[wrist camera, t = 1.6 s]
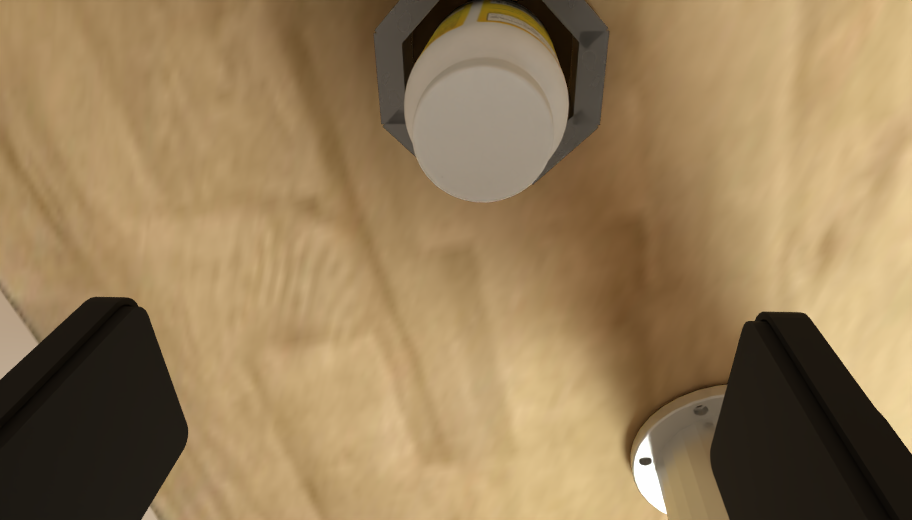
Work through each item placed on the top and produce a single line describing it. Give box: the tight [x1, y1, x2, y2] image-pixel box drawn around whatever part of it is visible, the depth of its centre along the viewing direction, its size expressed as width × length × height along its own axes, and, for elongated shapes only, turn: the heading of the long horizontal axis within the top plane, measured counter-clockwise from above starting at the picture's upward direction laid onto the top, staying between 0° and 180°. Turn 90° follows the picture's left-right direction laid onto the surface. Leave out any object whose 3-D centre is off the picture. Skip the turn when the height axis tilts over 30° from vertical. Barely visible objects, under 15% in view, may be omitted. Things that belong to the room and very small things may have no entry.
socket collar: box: [374, 0, 609, 184], centre depth 28 cm, size 10×10×3 cm
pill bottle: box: [404, 0, 569, 203], centre depth 24 cm, size 6×6×11 cm
